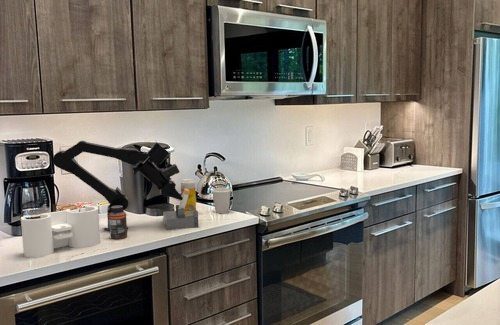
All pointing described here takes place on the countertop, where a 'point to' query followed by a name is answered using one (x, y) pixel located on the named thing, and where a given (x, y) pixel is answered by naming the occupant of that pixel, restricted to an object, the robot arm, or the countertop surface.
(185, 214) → the grey block with tab
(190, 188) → the yellow jar
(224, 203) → the dixie cup
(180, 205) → the breaker lever
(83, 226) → the white twin cylinder holder
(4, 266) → the countertop surface
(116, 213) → the supplement bottle
